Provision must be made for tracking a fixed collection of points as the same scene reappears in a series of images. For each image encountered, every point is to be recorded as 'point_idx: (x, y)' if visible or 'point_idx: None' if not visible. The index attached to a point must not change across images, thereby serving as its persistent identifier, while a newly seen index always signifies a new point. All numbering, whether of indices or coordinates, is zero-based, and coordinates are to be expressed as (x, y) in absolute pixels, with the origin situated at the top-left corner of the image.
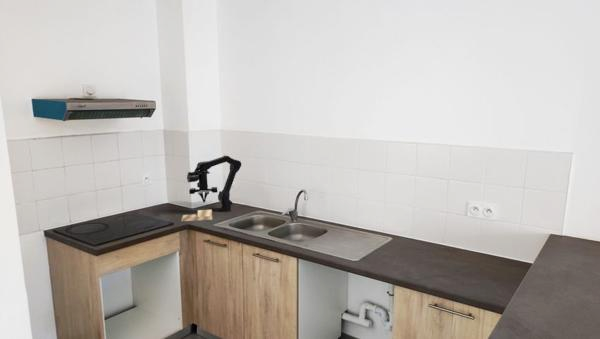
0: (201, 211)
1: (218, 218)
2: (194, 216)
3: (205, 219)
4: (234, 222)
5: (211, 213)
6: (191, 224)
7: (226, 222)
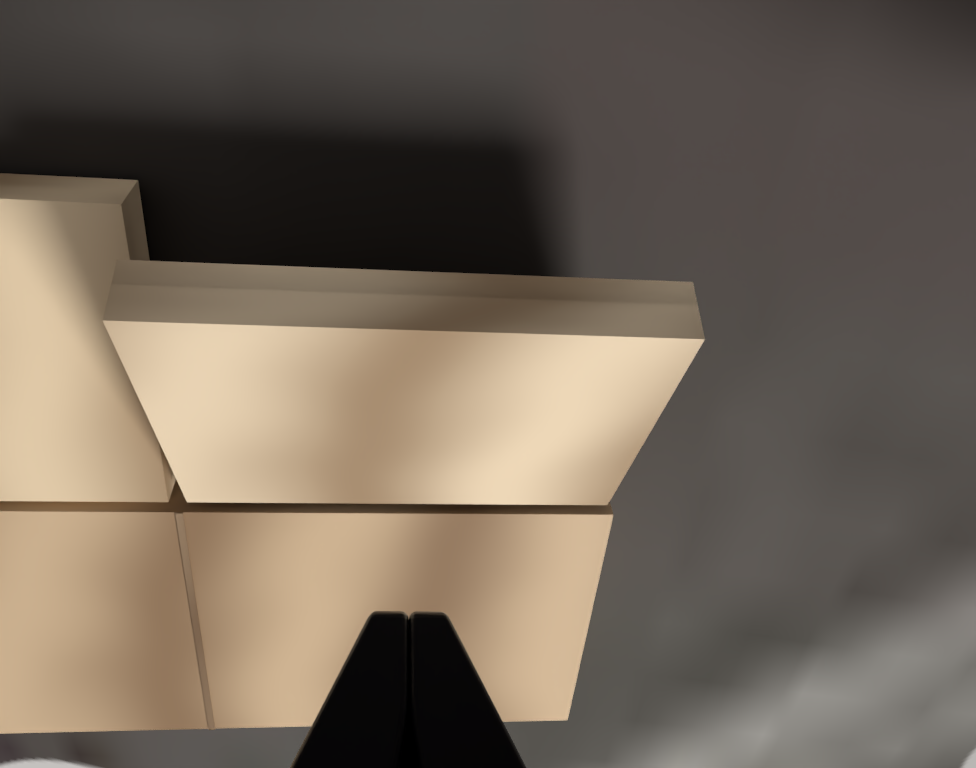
0: (282, 376)
1: (745, 515)
2: (75, 447)
3: None
4: (938, 760)
5: (626, 452)
6: (122, 764)
7: (809, 746)
